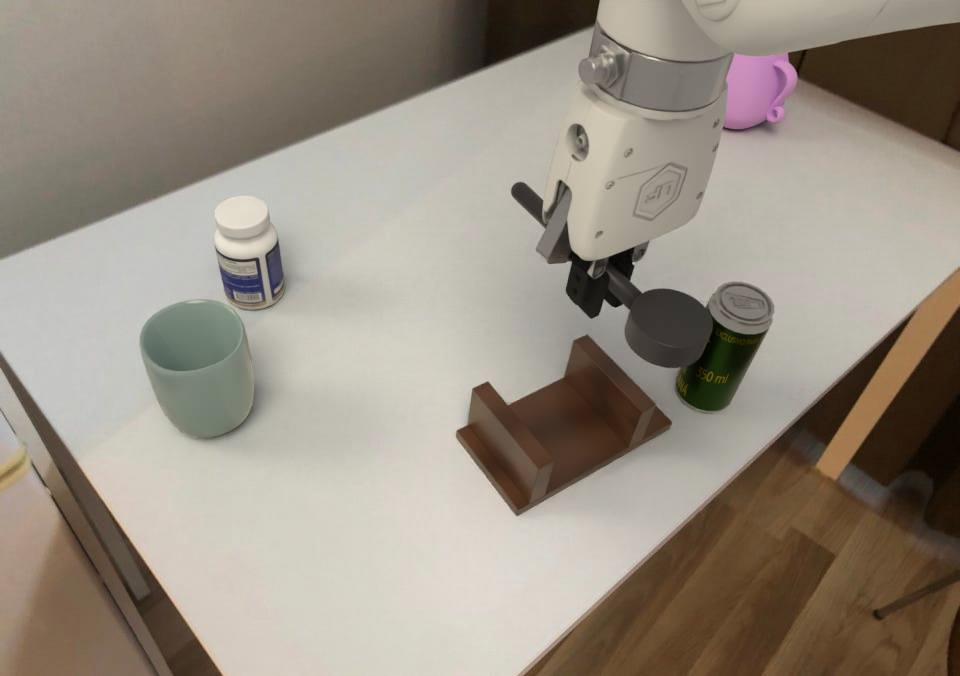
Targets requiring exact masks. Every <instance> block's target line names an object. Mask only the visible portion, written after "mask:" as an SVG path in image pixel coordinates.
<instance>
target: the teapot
mask: <svg viewBox="0 0 960 676" xmlns="http://www.w3.org/2000/svg"><path fill="white" fill-rule="evenodd" d="M789 59H790V58H789V53H783V54H777V55H769V56H746V55H741V54H736V53H735V54H734V57H733V60H732V63H731V66H730V69H729V72H728V74H727V77H726V82H727V84H728V95H727V106H726V112H725V119H724V124H723V128H725V129H732V130H744V129H745V130H746V129H749V128H752V127H755V126H757V125H759V124H761V123H763V122H765V121H767V122H769V123H771V124H780V123H782V122H783V121H784V120H785V119H786V114H787V113H786V110H785V108H784V107H783V106H784V104H785V101H786V100H787V98H788V97H789V96H791V94H792V93H793V91H794V90H795V88H796V87H797V83H798V73H797V70H796V68H795V67H794V65H792V64H791V63H790V60H789Z"/></svg>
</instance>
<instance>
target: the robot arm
mask: <svg viewBox="0 0 960 676" xmlns="http://www.w3.org/2000/svg"><path fill="white" fill-rule="evenodd" d="M955 23H956V24H957V23H960V0H599V3H598V8H597V13H596V18H595V22H594V28H593V33H592V37H591V42H590V48H589V53H588V57H585V58H582V59H581V60H580V62H579V63H578V75H579V78H580V79H579V81H578V82H577V84H576V87H575V90H574V92H573V94H572V97H571V99H570V102H569V103H568V107H567V110H566V112H565V114H564V118H563V121H562V123H561V127H560V130H559V133H558V136H557V139H556V142H555V147H554V150H553V153H552V157H551V161H550V165H549V169H548V172H547V173H548V174H547V178H546V183H545V187H544V193H543V210H542V217H543V222H544V223H545V224H548V225H547V227H546V229H545V228H544V231H543V233H542V235H541V237H540V239H539V241H538V243H537V245H536V247H535V252H536V253H537V254H538V256H540V257H541V258H542V259H543V261H545V262H546V263H547V264H548V265H557V264H558V265H559V264H567V263H569V262H571V264H570V267H569V272H568V277H567V280H566V281H567V282H566V286H565V294H566V295H567V296H568V298H569V299H570V301H571V302H572V303H573V304H574V305H575V306H577V307H578V308H579V309H580V310H581V311H582V312H583V313H584V314H585V315H586V316H587V317H588V318H589V319H594V318H596V317H599V316H600V314H601V311H602V308H603V304H604V301H605V302H606V303H607V304H608V305H609V306H610V307H611V308H615V309H616V308H619V307H621V306H623V305H624V304H623V303H622V302H621V301H619V300H618V299H617V298H616V297H615V296H614V295H613V294H612V293H611V292H610V291H609V290H608V289H607V286H608V283H609V280H610V276H609V274H608V273H607V272H606V267H607V263H608V261H609V262H610V263H611V264H612V265H613V266H614V267H615V268H616V269H617V270H619V271H620V272H621V273H622V274H623V275H624V276H625V277H626V278H627V279H628V280H629V281H630V282H631V280H632V276H633V273H634V270H635V268H636V265H635V264H634V263H637V262H639V261H641V260H642V259H643V258H644V256H645V255H646V253H647V250H648V247H649V244H650V241H652V240H654V239H656V238H659V237H661V236H663V235H666V234H668V233H671V232H673V231H675V230H677V229H680V228H681V227H683V226H685V225H687V224H688V223H690V222H691V221H692V220H693V219H694V218H695V217H696V215H697V214H698V211H699V210H700V207H701V204H702V202H703V200H704V199H703V198H704V196H705V194H706V191H707V187H708V184H709V181H710V178H711V174H712V171H713V167H714V165H715V160H716V157H717V153H718V149H719V145H720V142H721V138H722V133H723V128H724V127H723V124H724V119H725V112H726V106H727V95H728V84H727V82H726V77H727V74H728V72H729V69H730V66H731V63H732V60H733V57H734V54H735V53H736V54H741V55H746V56H769V55H777V54H783V53H788V54H789V53H793V52H794V53H795V52H798V51H803V50H809V49H814V48H819V47H824V46H825V47H826V46H829V45H835V44H839V43H841V42H845V41H850V40H851V41H852V40H855V39H861V38H867V37H873V36H878V35H884V34H889V33H894V32H900V31H901V32H902V31H908V30H913V29H914V30H915V29H920V28H921V29H922V28H925V27H932V26H938V25H948V24H955Z"/></svg>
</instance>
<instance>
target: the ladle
mask: <svg viewBox="0 0 960 676" xmlns="http://www.w3.org/2000/svg"><path fill="white" fill-rule="evenodd" d="M510 195H511V197H512V198H513V199H514V200H515V201H516V202H517V203H518V204H519V205H520V206H521V207H522V208H523V209H524V210H525V211H527V212H528V214H529V215H531V217H533V219H535V221H537V223H539V224H540V226H542V228H544V230H545V229H546V227H547V225H548V224H545V223H544V222H543V217H542V210H543V200H544V198H543V197H541V196H540V195H539V194H538V193H537V192H535V191H534V189H533V188H532V187H530V186H529V185H528V184H527V183H526V182H524V181H518V182H515V183H514V184H513V185H512V186H511V188H510ZM606 272H607V273H608V274H609V276H610V280H609V283H608V286H607V289H608V290H609V291H610V292H611V293H612V294H613V295H614V296H615V297H616V298H617V299H618V300H619V301H621V302H622V303H623V305H624V307H626V309H627V310H628V311H629V312H628V316H627V318H626V322H625V324H624V329H623V331H624V334H623V335H624V338H625V341H626V343H627V345H628V347H629V348H630V349H631V351H632V352H633V353H634V354H635V355H636V356H637V357H639V358H640V359H642V360H643V361H645V362H647V363H649V364H652V365H654V366H657V367H660V368H664V369H665V368H666V369H680V368H681V367H686V366H688V365H691V364H693V363H694V362H696V361H697V360H698V359H699V358H700V357H701V355H702V353H703V351H704V349H705V346H706V344H707V342H708V340H709V337H710V335H711V333H712V328H713V323H712V318H711V316H710V314H709V312H708V310H707V309H706V306H705V305H704V304H703V303H702V302H700V301H699V300H698V299H696V298H695V297H694V296H692V295H690V294H688V293H686V292H683V291H680V290H676V289H671V288H663V287H661V288H652V289H649V290H646V291H644V292H642V291H641V290H640V289H639V288H638V287H637V286H636V285H635V284H634V283H632V281H631V280H630V281H629V280H628V279H627V278H626V277H625V276H624V275H623V274H622V273H621V272H620V271H619V270H617V269H616V268H615V267H614V266H613V265H612V264H611V263H610V262H609V261H608V263H607V267H606Z"/></svg>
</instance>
